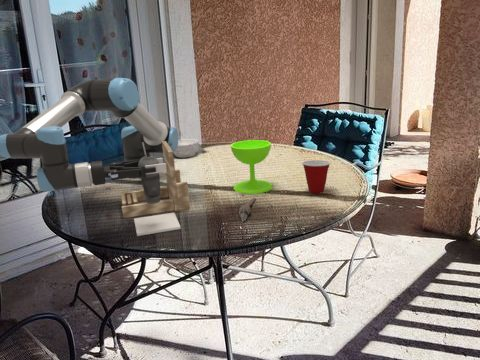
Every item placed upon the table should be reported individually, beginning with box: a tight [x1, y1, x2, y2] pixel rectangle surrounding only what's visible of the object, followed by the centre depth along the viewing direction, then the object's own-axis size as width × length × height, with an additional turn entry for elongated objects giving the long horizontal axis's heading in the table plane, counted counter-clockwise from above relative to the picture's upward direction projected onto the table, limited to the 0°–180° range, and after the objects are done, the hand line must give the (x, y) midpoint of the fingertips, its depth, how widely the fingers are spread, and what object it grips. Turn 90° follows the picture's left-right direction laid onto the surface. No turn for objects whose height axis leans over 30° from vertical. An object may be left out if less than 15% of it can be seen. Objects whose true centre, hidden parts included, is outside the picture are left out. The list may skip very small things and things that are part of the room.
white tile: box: [133, 212, 182, 237], centre depth 154 cm, size 14×14×1 cm
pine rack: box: [119, 141, 191, 219], centre depth 170 cm, size 24×20×22 cm
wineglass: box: [230, 139, 274, 195], centre depth 184 cm, size 16×16×18 cm
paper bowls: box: [173, 138, 200, 159], centre depth 246 cm, size 15×15×8 cm
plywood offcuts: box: [121, 191, 139, 206], centre depth 170 cm, size 5×12×4 cm, turn 16°
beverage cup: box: [138, 142, 161, 204], centre depth 148 cm, size 7×7×20 cm
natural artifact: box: [238, 197, 257, 223], centre depth 161 cm, size 4×23×4 cm
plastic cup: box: [301, 159, 332, 195], centre depth 175 cm, size 11×11×12 cm
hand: (164, 164), depth 149 cm, fingers closed on beverage cup, 7 cm apart
